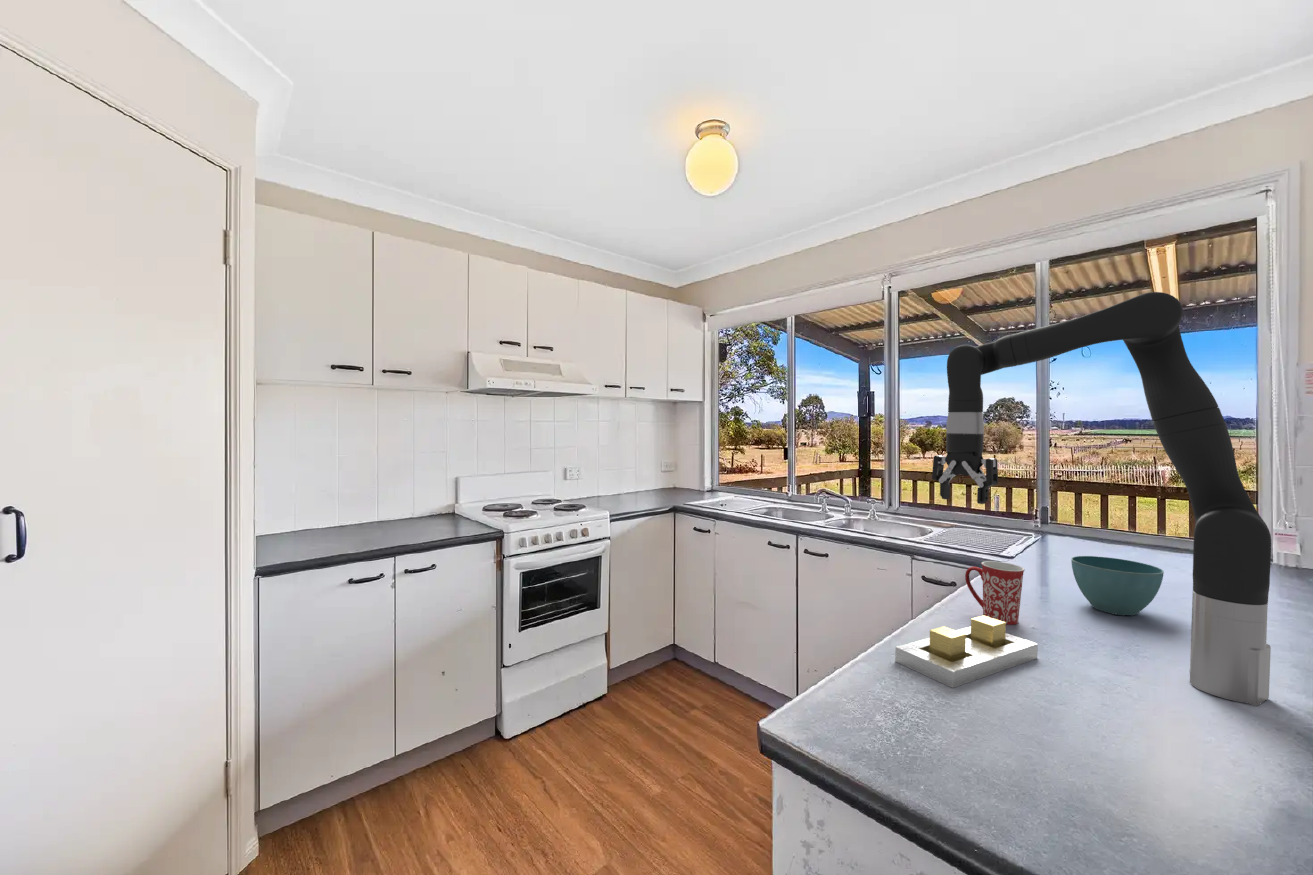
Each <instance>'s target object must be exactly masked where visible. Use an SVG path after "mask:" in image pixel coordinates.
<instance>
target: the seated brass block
mask: <svg viewBox="0 0 1313 875" xmlns="http://www.w3.org/2000/svg"><path fill="white" fill-rule="evenodd" d="M970 626H971V640H973V641H976V642H979V643H981V644H984V645H987V646H990V647H992V648H995V649H996V648H999V647H1002V646H1005V634H1006V633H1007V632H1006V631H1007V630H1006V629H1007V627H1006V622H1003V621H1000V620H997V619H994V618H990V617H987V616H984V615H983V614H982V615H980V616H976V617H972V618H970Z"/></svg>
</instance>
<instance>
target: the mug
mask: <svg viewBox="0 0 1313 875" xmlns="http://www.w3.org/2000/svg"><path fill="white" fill-rule="evenodd" d="M980 564H981V567H982V568H981V567H978V566H970V567H969V568H968V569H966V571H965V576H964V578H965V579H964V580H965V583H966V586H967V588H968V590H969V591H970V594H971V595H972V596H973V598H974V599H975V601H977V603H978V604H979V605H980V607H981V608H982V616H983V615H984V616H987V617H990V618H994V619H997V620H1000V621H1003V622H1006V625H1009V626H1010V625H1017V624H1019V616H1020V607H1021V600H1022V590H1023V582H1024V581H1023V580H1024V572H1025V567H1023V566H1020V565H1017V564H1014V563H1010V562H1004V561H995V560H986V561H982V562H981V563H980ZM972 571H976V572H978V573H979V576H980V578H981V581H982V598H981V597H980V596H979V595H978V593H977V592H976V590H975V588H974V587H973V584H972V583H971V580H970V573H971V572H972Z"/></svg>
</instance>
